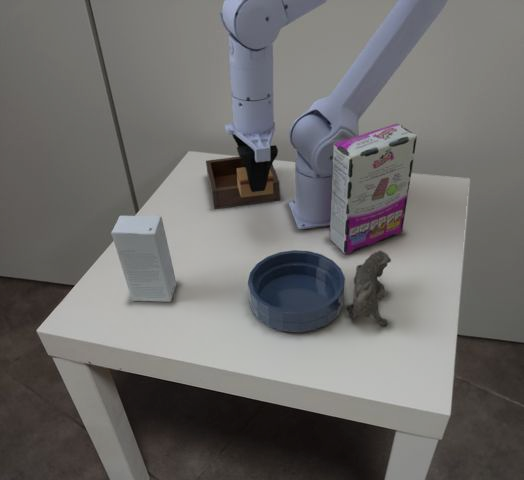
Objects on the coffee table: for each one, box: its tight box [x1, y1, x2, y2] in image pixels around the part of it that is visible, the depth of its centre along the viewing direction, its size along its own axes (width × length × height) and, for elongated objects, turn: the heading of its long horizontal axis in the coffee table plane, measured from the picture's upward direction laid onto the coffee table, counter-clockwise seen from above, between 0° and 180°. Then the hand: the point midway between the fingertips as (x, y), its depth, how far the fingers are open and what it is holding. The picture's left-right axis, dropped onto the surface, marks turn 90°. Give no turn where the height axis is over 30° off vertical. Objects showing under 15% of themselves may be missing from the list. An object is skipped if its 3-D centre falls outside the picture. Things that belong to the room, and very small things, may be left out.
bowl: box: [247, 249, 346, 333], centre depth 76 cm, size 13×13×4 cm
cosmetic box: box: [110, 215, 177, 303], centre depth 76 cm, size 6×4×12 cm
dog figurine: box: [346, 250, 392, 326], centre depth 74 cm, size 12×6×7 cm, turn 166°
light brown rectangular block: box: [237, 167, 273, 197], centre depth 83 cm, size 5×4×3 cm
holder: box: [205, 155, 281, 210], centre depth 97 cm, size 12×11×4 cm
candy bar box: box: [329, 123, 418, 255], centre depth 81 cm, size 11×5×16 cm, turn 117°
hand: (255, 183), depth 84 cm, fingers closed on light brown rectangular block, 3 cm apart
